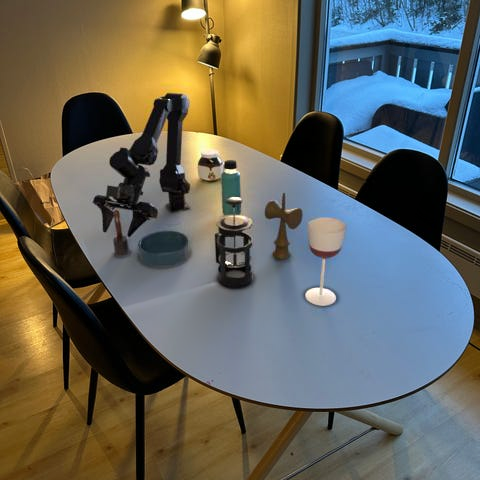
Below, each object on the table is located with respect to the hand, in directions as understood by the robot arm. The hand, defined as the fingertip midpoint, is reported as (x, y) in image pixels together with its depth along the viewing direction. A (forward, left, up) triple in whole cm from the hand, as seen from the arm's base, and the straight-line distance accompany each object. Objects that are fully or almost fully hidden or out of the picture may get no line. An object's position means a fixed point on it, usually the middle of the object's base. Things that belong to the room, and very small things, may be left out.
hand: (116, 234), depth 126 cm
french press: (+25, +25, -7) cm, 36 cm away
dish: (+5, +12, -7) cm, 15 cm away
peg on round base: (-1, +1, -7) cm, 7 cm away
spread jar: (-46, +49, -7) cm, 68 cm away
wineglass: (+42, +41, -7) cm, 59 cm away
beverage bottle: (-9, +40, -7) cm, 42 cm away
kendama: (+21, +42, -7) cm, 48 cm away
